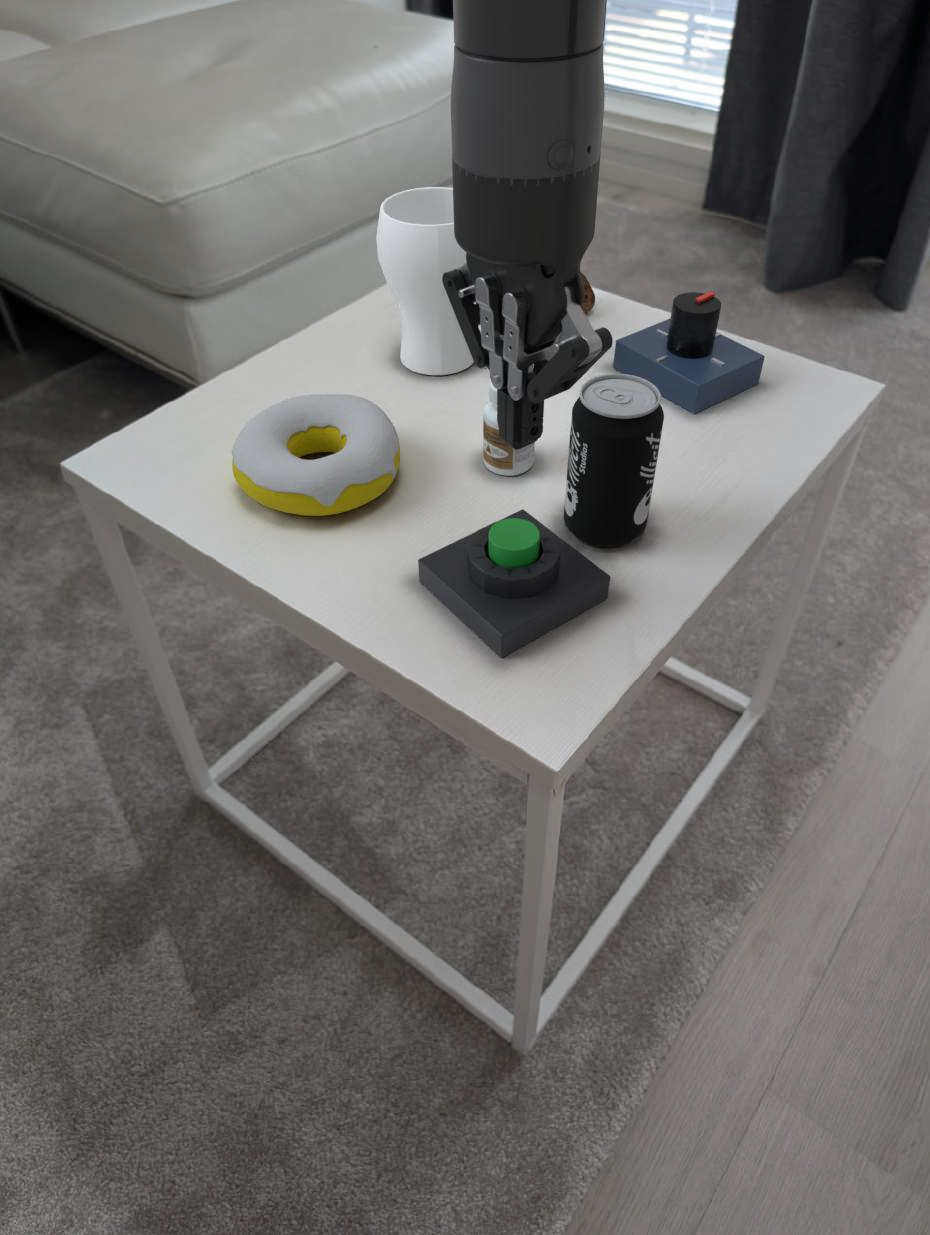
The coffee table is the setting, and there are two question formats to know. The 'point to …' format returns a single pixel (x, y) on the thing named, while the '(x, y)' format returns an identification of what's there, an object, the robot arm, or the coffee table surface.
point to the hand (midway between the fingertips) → (519, 440)
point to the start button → (514, 543)
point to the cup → (423, 277)
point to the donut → (310, 427)
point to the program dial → (693, 324)
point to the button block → (513, 587)
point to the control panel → (688, 367)
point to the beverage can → (612, 459)
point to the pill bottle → (502, 444)
